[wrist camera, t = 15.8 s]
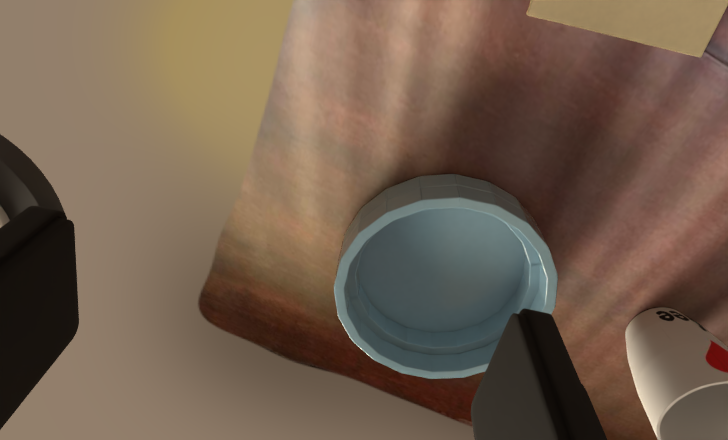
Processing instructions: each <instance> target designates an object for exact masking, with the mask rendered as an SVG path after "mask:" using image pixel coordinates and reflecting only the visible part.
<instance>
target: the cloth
mask: <svg viewBox="0 0 728 440" xmlns="http://www.w3.org/2000/svg"><path fill="white" fill-rule="evenodd" d="M727 6H728V0H531V1H530V4H529V7H528V10H527V13H526V15H529V16H533V17H537V18H541V19H545V20H549V21H553V22H557V23H561V24H565V25H570V26H574V27H578V28H582V29H586V30H590V31H594V32H598V33H602V34H606V35H610V36H615V37H619V38H623V39H627V40H631V41H635V42H639V43H643V44H647V45H651V46H655V47H659V48H664V49H668V50H672V51H676V52H680V53H684V54H688V55H692V56H696V57H701V56H702V54H703V52H704V50H705V48H706V47H707V45H708V43H709V41H710V39H711V37H712V35H713V33H714V31H715V29H716V27H717V25H718V23H719V21H720V19H721V17H722V15H723V13H724V11H725V9H726V8H727Z"/></svg>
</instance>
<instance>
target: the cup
mask: <svg viewBox="0 0 728 440" xmlns="http://www.w3.org/2000/svg"><path fill="white" fill-rule="evenodd" d="M626 346H627V357H628V362H629V365H630V369H631V372H632V375H633V379H634V382H635V386H636V389H637V392H638V395H639V398H640V400H641V402H642V405H643V407H644V409H645V411H646V414H647V416H648V418H649V420H650V423H651V425H652V427H653V429H654V432H655V434H656V436H657V438H658V440H728V347H727V346H725V345H724V344H723V343H722V342H721V341H719V340H718V339H717V338H716V337H715V336H714V335H712V334H711V333H710V332H709V331H708V330H706V329H705V328H704V327H703V326H702V325H700V324H698V323H697V322H695V321H693V320H692V319H690V318H688V317H687V316H685V315H683V314H682V313H680V312H678V311H677V310H674V309H671V308H665V307H659V308H653V309H649V310H646V311H644V312H642V313H640V314H639V315H637V316H636V317H635V318H633V319H632V321H631V322H630V323H629V325H628V326H627V329H626Z"/></svg>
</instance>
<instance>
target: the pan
mask: <svg viewBox="0 0 728 440" xmlns="http://www.w3.org/2000/svg"><path fill="white" fill-rule="evenodd" d="M557 282H558V274H557V271H556V268H555V265H554V262H553V259H552V255H551V252H550V249H549V247H548V245H547V243H546V241H545V239H544V237H543V235H542V233H541V231H540V229H539V227H538V225H537V223H536V221H535V220H534V219H533V217H532V216H531V215H530V214H529V213H528V211H527V210H526V209H525V208H524V207H523V205H522V204H521V203H520V202H519V201H518V199H517V198H516V197H514V196H512V195H511V194H509V193H507V192H505V191H504V190H502V189H500V188H499V187H497V186H495V185H494V184H492V183H490V182H487V181H484V180H479V179H475V178H470V177H466V176H461V175H457V174H443V175H429V176H419V177H416V178H413V179H411V180H408V181H405V182H403V183H400V184H397V185H395V186H392V187H389V188H387V189H385V190H384V191H383V192H381V193H380V194H379V195H378V196H376V197H375V198H374V199H372V200H371V201H370V202H369V203H367V204H366V205H365V206H363V207H362V208H361V209H360V211H359V212H358V214H357V215H356V217H355V218H354V220H353V221H352V223H351V224H350V226H349V227H348V229H347V230H346V232H345V234H344V238H343V242H342V247H341V251H340V255H339V259H338V265H337V271H336V277H335V283H334V294H335V300H336V307H337V313H338V317H339V319H340V321H341V322H342V324H343V326H344V328H345V329H346V331H347V333H348V335H349V337H350V338H351V340H352V341H353V342H354V343H355V344H356V345H358V346H359V347H360V348H361V349H362V350H363V351H364V352H365V353H367V354H368V355H369V356H370V357H371V358H372V359H374V360H375V361H377V362H379V363H381V364H384V365H386V366H388V367H390V368H392V369H394V370H396V371H398V372H401V373H404V374H409V375H414V376H419V377H424V378H429V379H439V378H462V377H467V376H470V375H474V374H478V373H481V372H485V371H486V369H487V367H488V365H489V363H490V360H491V358H492V356H493V354H494V351H495V349H496V347H497V345H498V342H499V340H500V338H501V336H502V333H503V331H504V329H505V327H506V325H507V322H508V320H509V318H510V316H511V315H512V314H513V313H517V314H519V312H520V311H521V310H522V309H530V310H535V311H540V312H545V313H549V314H552V312H553V310H554V308H555V304H556V294H557Z"/></svg>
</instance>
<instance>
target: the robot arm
mask: <svg viewBox="0 0 728 440" xmlns="http://www.w3.org/2000/svg"><path fill="white" fill-rule="evenodd" d="M78 315H79V314H78V295H77V274H76V255H75V236H74V224H73V222H72V221H70V220H67V217H66V215H65V213H64V212H62V211H58V210H53V209H48V208H44V207H39V206H30V207H28V208H27V209H25V210H24V211H23V212H21V213H20V214H18V215H17V216H16V217H14V218H13V219H12V220H9V218H8V216H7V214H6V213H5V211H4V210H3V208H2V207H1V205H0V429H1V428H2V427H3V425H4V424H5V423H6V422H7V421H8V419H9V418H10V417H11V416H12V414H13V413H14V412H15V411H16V409H17V408H18V407H19V405H20V404H21V403H22V402H23V400H24V399H25V398H26V397H27V395H28V394H29V393H30V391H31V390H32V389H33V388H34V387H35V385H36V384H37V383H38V382H39V380H40V379H41V378H42V377H43V375H44V374H45V373H46V371H47V370H48V369H49V368H50V366H51V365H52V364H53V363H54V362H55V360H56V359H57V358H58V357H59V355H60V354H61V353H62V352H63V350H64V349H65V348H66V346H67V345H68V344H69V343H70V342H71V340H72V339H73V337H74V336H75V334H76V332H77V329H78V324H79V316H78ZM471 418H472V425H473V431H474V437H475V440H607V438H606V436H605V433H604V431H603V429H602V426H601V424H600V422H599V419H598V417H597V415H596V412H595V410H594V408H593V405H592V403H591V401H590V398H589V396H588V394H587V391H586V390H585V388H584V386H583V385H582V384H581V382H580V380H579V378H578V375H577V373H576V371H575V368H574V366H573V364H572V361H571V359H570V356H569V354H568V352H567V349H566V347H565V345H564V342H563V340H562V338H561V335H560V333H559V331H558V328H557V326H556V324H555V321H554V319H553V317H552V315H551V314H549V313H545V312H540V311H535V310H530V309H522V310H521V311H520V312H519V314H517V313H513V314H512V315H511V316H510V318H509V320H508V322H507V325H506V327H505V329H504V331H503V333H502V336H501V338H500V340H499V342H498V345H497V347H496V349H495V351H494V354H493V356H492V358H491V360H490V363H489V365H488V367H487V369H486V372H485V374H484V376H483V378H482V381H481V383H480V385H479V387H478V390H477V392H476V394H475V396H474V399H473V402H472V407H471Z"/></svg>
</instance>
